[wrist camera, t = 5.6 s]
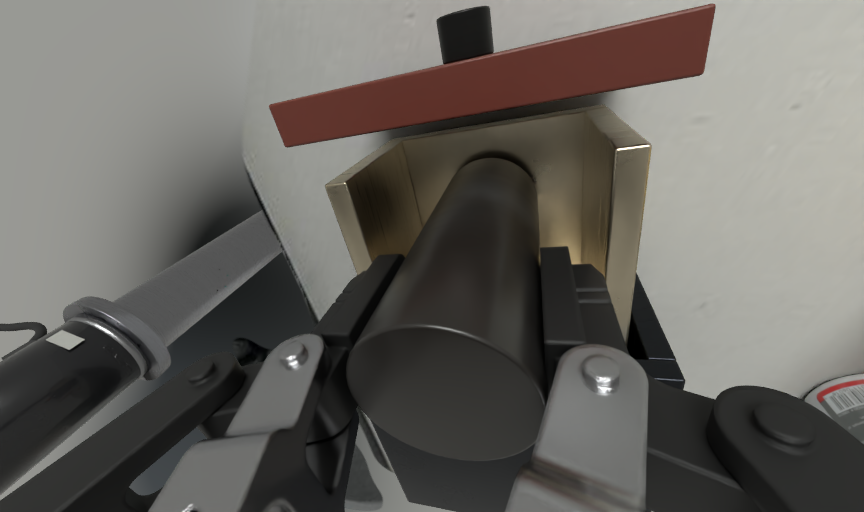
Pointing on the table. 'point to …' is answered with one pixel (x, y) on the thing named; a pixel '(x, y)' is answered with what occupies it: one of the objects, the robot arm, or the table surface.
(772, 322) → the table surface
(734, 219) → the table surface
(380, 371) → the dark grey cylinder
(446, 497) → the drawer cabinet
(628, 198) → the cabinet drawer
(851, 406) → the pill bottle
